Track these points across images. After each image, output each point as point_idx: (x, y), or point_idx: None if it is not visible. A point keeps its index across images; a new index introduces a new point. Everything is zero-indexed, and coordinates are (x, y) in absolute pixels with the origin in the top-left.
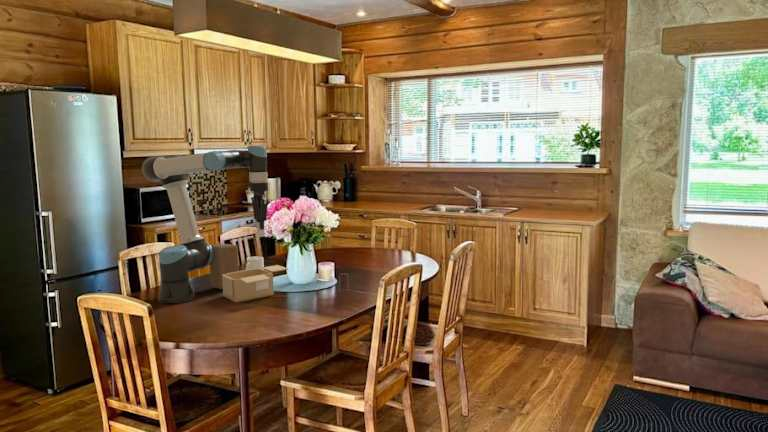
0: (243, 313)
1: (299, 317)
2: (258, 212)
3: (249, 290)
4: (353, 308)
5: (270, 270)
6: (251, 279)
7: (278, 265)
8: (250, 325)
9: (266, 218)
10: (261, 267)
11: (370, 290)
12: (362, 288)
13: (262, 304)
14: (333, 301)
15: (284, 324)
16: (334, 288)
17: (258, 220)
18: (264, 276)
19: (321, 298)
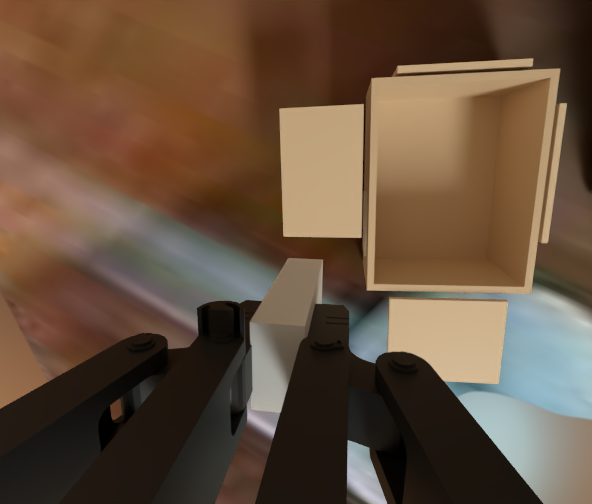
0: (209, 64)
1: (65, 200)
2: (162, 437)
3: (366, 160)
4: (65, 362)
5: (409, 301)
6: (312, 151)
7: (483, 380)
8: (67, 30)
9: (115, 433)
10: None
11: None
12: (235, 500)
13: (273, 171)
14: None
15: (24, 129)
16: None
17: (227, 333)
18: (324, 227)
19: None
